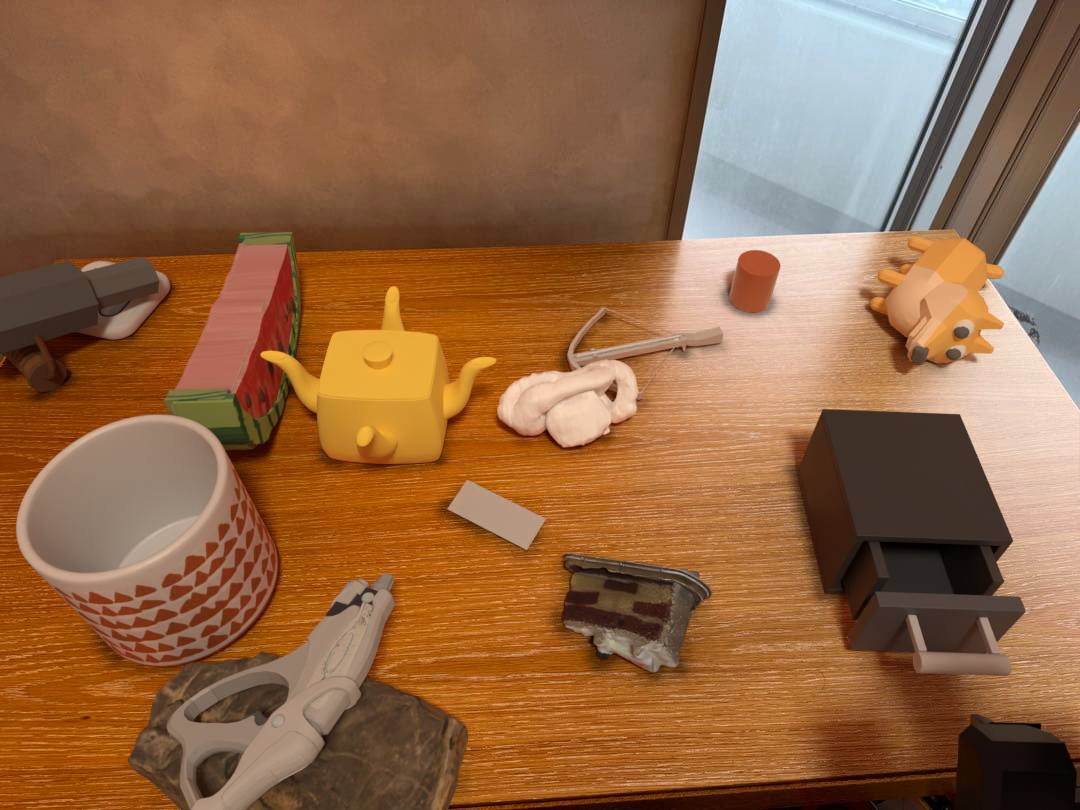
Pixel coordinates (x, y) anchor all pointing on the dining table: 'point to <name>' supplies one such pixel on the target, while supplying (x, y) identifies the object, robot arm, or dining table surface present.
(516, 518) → the grey rectangular card
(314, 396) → the teapot
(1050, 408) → the dining table surface
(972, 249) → the dog
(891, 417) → the dark brown hollow box
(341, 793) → the stone
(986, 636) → the drawer
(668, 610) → the chocolate cake
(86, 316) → the mechanical component
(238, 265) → the fruit slice
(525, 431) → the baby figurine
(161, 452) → the vase
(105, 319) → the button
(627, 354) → the crossbow
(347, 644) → the gun
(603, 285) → the dining table surface
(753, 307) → the orange cylinder
